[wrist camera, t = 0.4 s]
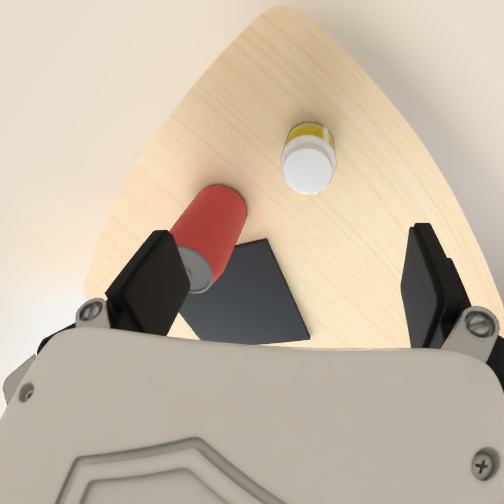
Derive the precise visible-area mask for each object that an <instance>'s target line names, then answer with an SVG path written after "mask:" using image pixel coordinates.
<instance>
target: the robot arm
mask: <svg viewBox="0 0 504 504" xmlns="http://www.w3.org/2000/svg"><path fill="white" fill-rule="evenodd" d="M190 286H191V285H190V280H189V278H188V275H187V272H186V270H185V267H184V264H183V261H182V259H181V256H180V253H179V250H178V247H177V244H176V242H175V239H174V236H173V234H172V233H170V232H169V231H168V230H155V231H153V232H152V234H151V235H150V236H149V237H148V238H147V240H146V241H145V242H144V243H143V245H142V246H141V247H140V248H139V249H138V251H137V252H136V253H135V254H134V256H133V257H132V258H131V260H130V261H129V262H128V263H127V265H126V266H125V267H124V268H123V270H122V271H121V272H120V274H119V275H118V276H117V278H116V279H115V280H114V281H113V283H112V284H111V285H110V287H109V288H108V289H107V291H106V292H105V294H106V296H107V298H108V299H107V301H106V302H105V300H103V299H102V298H94V299H91V300H89V301H87V302H85V303H84V304H83V305H82V306H81V307H80V308H79V309H78V311H77V313H76V323H74V324H72V325H70V326H68V327H66V328H64V329H62V330H60V331H58V332H56V333H54V334H52V335H51V336H49V337H46V338H45V339H43V340H42V342H41V344H40V345H39V348H38V351H37V356H36V355H35V354H34V355H33V356H31V357H30V358H29V359H28V360H27V361H25V362H24V363H23V364H22V365H21V366H19V367H18V368H17V369H16V370H15V371H14V372H12V373H11V374H10V375H9V376H8V377H7V378H6V380H5V382H4V385H3V392H4V395H5V399H6V402H7V408H6V410H5V412H4V414H3V416H2V418H1V420H0V504H504V338H502V337H501V336H499V335H498V334H499V329H500V327H499V322H498V320H497V318H496V316H495V315H494V314H493V313H492V312H491V311H489V310H488V309H486V308H483V307H480V306H471V303H470V301H469V298H468V296H467V293H466V291H465V288H464V286H463V284H462V281H461V279H460V277H459V274H458V272H457V270H456V268H455V265H454V263H453V261H452V260H451V258H447V257H446V255H445V253H444V251H443V248H442V246H441V244H440V242H439V240H438V238H437V236H436V234H435V232H434V230H433V228H432V226H431V224H430V223H415V225H414V227H410V229H409V236H408V243H407V250H406V257H405V263H404V269H403V274H402V280H401V295H402V299H403V304H404V309H405V314H406V320H407V325H408V331H409V337H410V343H411V348H371V349H366V348H301V347H279V346H262V345H247V344H234V343H223V342H212V341H202V340H193V339H184V338H176V337H168V336H167V334H168V332H169V330H170V328H171V326H172V324H173V322H174V320H175V318H176V316H177V314H178V312H179V310H180V308H181V306H182V304H183V302H184V300H185V298H186V297H187V295H188V293H189V291H190Z"/></svg>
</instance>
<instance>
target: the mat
mask: <svg viewBox="0 0 504 504" xmlns="http://www.w3.org/2000/svg"><path fill="white" fill-rule="evenodd" d="M179 313H180V314H181V316H182V317H183V318H184V319H185V321H186V322H187V323H188V325H189V326H190V327H191V328H192V330H193V331H194V332H195V334H196V335H197V336H198V337H199V339H200V340H202V341H212V342H223V343H234V344H247V345H259V344H271V343H282V342H292V341H301V340H310V335H309V333H308V331H307V328H306V326H305V324H304V321H303V319H302V317H301V315H300V312H299V310H298V308H297V306H296V303H295V301H294V299H293V296H292V294H291V292H290V290H289V287H288V285H287V283H286V281H285V278H284V276H283V274H282V272H281V270H280V267H279V265H278V263H277V261H276V258H275V256H274V254H273V252H272V250H271V247H270V245H269V243H268V241H267V239H262V240H258V241H253V242H249V243H245V244H240V245H236V246H235V247H234V249H233V251H232V253H231V256H230V258H229V260H228V263H227V265H226V267H225V270H224V272H223V273H222V274H221V275H220V277H219V278H218V279H217V280H216V281H215V282H214V283H213V284H212V285H211V287H210V288H209V289H208V290H206V291H204V292H202V293H195V294H194V293H188V295H187V297H186V298H185V300H184V302H183V304H182V306H181V308H180V310H179Z"/></svg>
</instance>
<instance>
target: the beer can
mask: <svg viewBox="0 0 504 504" xmlns="http://www.w3.org/2000/svg"><path fill="white" fill-rule="evenodd" d="M246 217H247V208H246V205H245V203H244V201H243V199H242V198H241V197H240V196H239V194H238V193H237V192H235V191H234V190H232V189H230V188H228V187H225V186H214V185H213V186H210V187H207V188H204V189H203V190H202V191H201V192H199V193H198V195H197V196H196V197H195V198H194V200H193V201H192V202H191V204H190V205H189V206H188V207H187V209H186V210H185V211H184V213H183V214H182V215H181V216H180V218H179V219H178V220H177V222H176V223H175V224H174V226H173V227H172V228H171V230H170V231H169V232H170V233H172V234H173V236H174V239H175V242H176V244H177V247H178V250H179V253H180V256H181V259H182V261H183V264H184V267H185V270H186V272H187V275H188V278H189V280H190V285H191V286H190V291H189V293H194V294H195V293H202V292H204V291H206V290H208V289H209V288H210V287H211V285H212V284H213V283H214V282H215V281H216V280H217V279H218V278H219V277H220V275H221V274H222V273H223V272H224V270H225V267H226V265H227V263H228V260H229V258H230V256H231V253H232V251H233V249H234V247H235V244H236V242H237V240H238V237H239V235H240V233H241V230H242V228H243V226H244V224H245V221H246Z"/></svg>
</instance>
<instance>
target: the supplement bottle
mask: <svg viewBox="0 0 504 504" xmlns="http://www.w3.org/2000/svg"><path fill="white" fill-rule="evenodd" d="M281 163H282V167H283V176H284V179H285V181H286V183H287V184H288V185H289V186H290V187H291V188H292V189H293V190H295V191H297V192H299V193H302V194H315V193H318V192H321V191H322V190H324V189H325V188H326V187H327V186H328V185H329V183H330V182H331V179H332V176H333V174H334V171H335V169H336V163H337V162H336V153H335V146H334V140H333V136H332V134H331V132H330V131H329V130H328V129H327V128H326V127H325V126H324V125H322V124H320V123H318V122H315V121H304V122H301V123H299V124H297V125H296V126H295V127H293V129H292V130H291V131H290V133H289V135H288V138H287V141H286V143H285V146H284V149H283V152H282V156H281Z"/></svg>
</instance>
